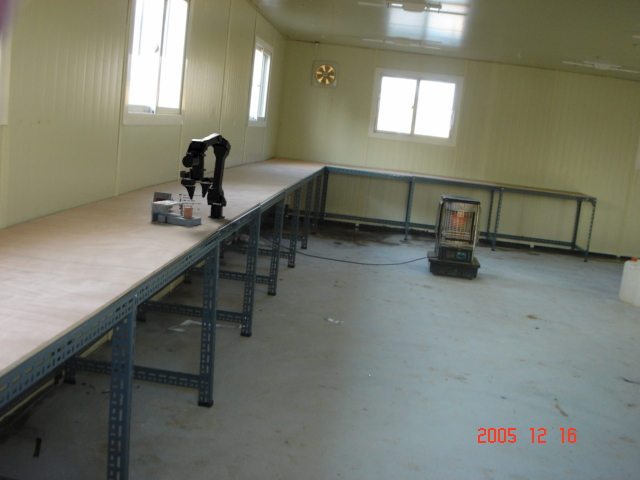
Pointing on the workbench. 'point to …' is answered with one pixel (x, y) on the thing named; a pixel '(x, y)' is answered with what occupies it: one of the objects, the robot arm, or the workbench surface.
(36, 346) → the workbench surface
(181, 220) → the socket board
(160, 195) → the voltmeter
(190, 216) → the peg
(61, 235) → the workbench surface
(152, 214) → the awning
